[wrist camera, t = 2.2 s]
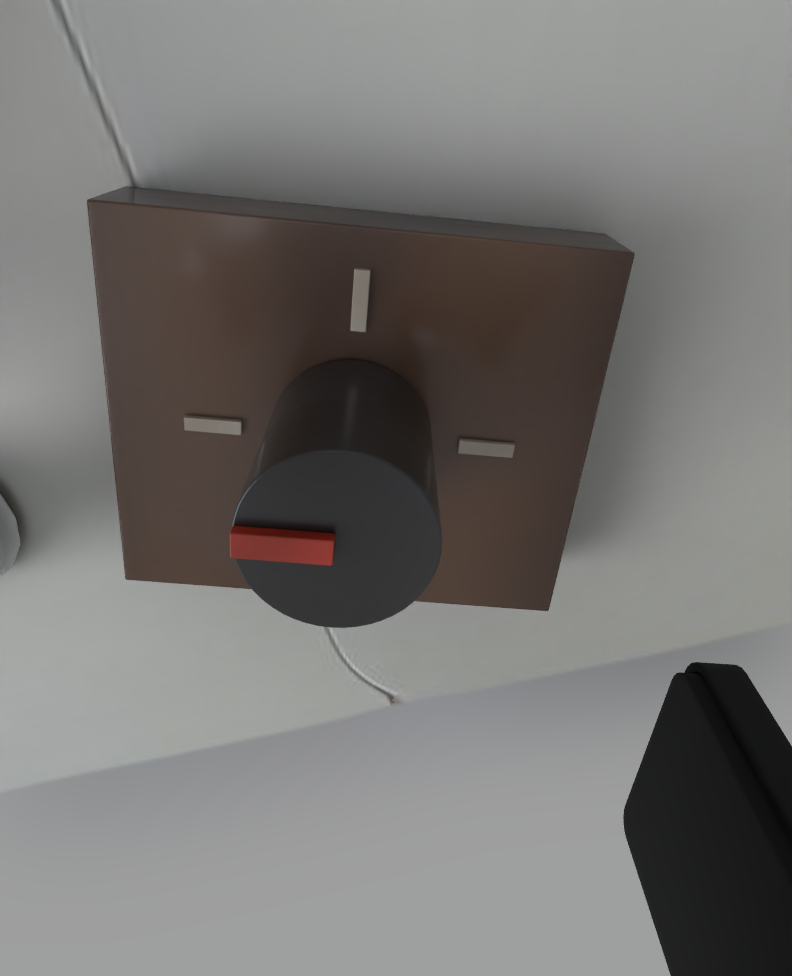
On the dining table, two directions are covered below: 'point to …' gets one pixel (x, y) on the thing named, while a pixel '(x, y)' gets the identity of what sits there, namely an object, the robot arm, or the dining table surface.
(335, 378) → the knob
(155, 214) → the panel
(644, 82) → the dining table surface
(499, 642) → the dining table surface
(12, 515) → the rook chess piece
